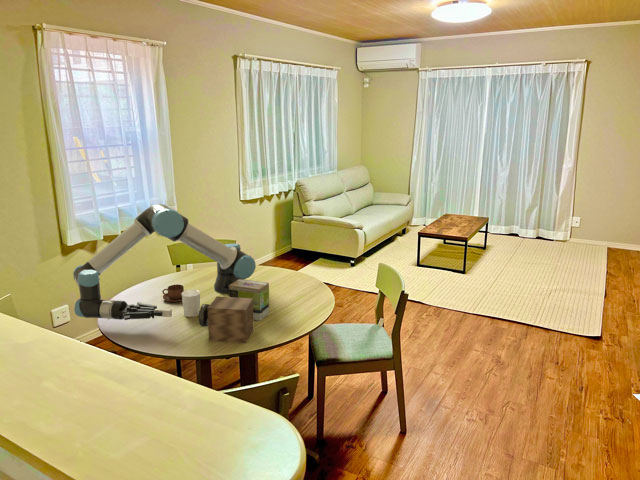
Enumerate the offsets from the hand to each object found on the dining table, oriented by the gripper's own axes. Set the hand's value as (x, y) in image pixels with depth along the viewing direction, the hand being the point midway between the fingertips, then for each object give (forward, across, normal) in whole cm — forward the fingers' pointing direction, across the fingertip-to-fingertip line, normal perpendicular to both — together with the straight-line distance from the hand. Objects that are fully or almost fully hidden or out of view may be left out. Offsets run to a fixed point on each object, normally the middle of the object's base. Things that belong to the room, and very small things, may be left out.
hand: (171, 313), depth 192 cm
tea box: (+27, -21, -8) cm, 35 cm away
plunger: (+21, 0, -5) cm, 21 cm away
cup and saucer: (-11, -34, -8) cm, 37 cm away
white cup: (+2, -18, -8) cm, 20 cm away
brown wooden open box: (+25, 0, -8) cm, 26 cm away
